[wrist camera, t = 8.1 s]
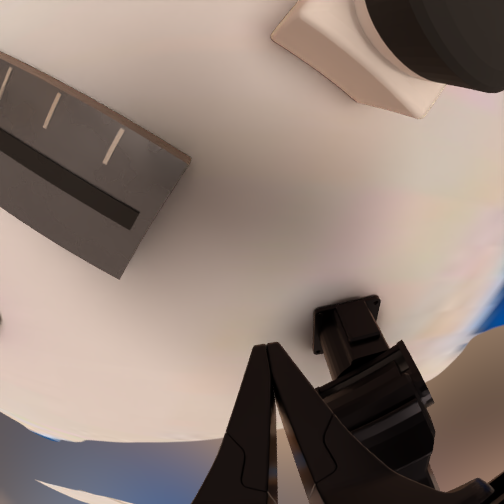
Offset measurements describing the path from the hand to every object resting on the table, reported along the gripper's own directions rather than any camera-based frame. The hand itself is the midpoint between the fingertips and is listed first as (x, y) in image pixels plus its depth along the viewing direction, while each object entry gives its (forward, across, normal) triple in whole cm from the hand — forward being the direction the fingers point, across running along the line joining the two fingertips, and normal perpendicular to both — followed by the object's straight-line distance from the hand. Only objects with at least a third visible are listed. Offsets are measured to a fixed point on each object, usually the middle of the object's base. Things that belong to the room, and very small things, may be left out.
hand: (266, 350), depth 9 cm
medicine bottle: (+12, -8, -11) cm, 18 cm away
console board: (+12, +14, -8) cm, 20 cm away
